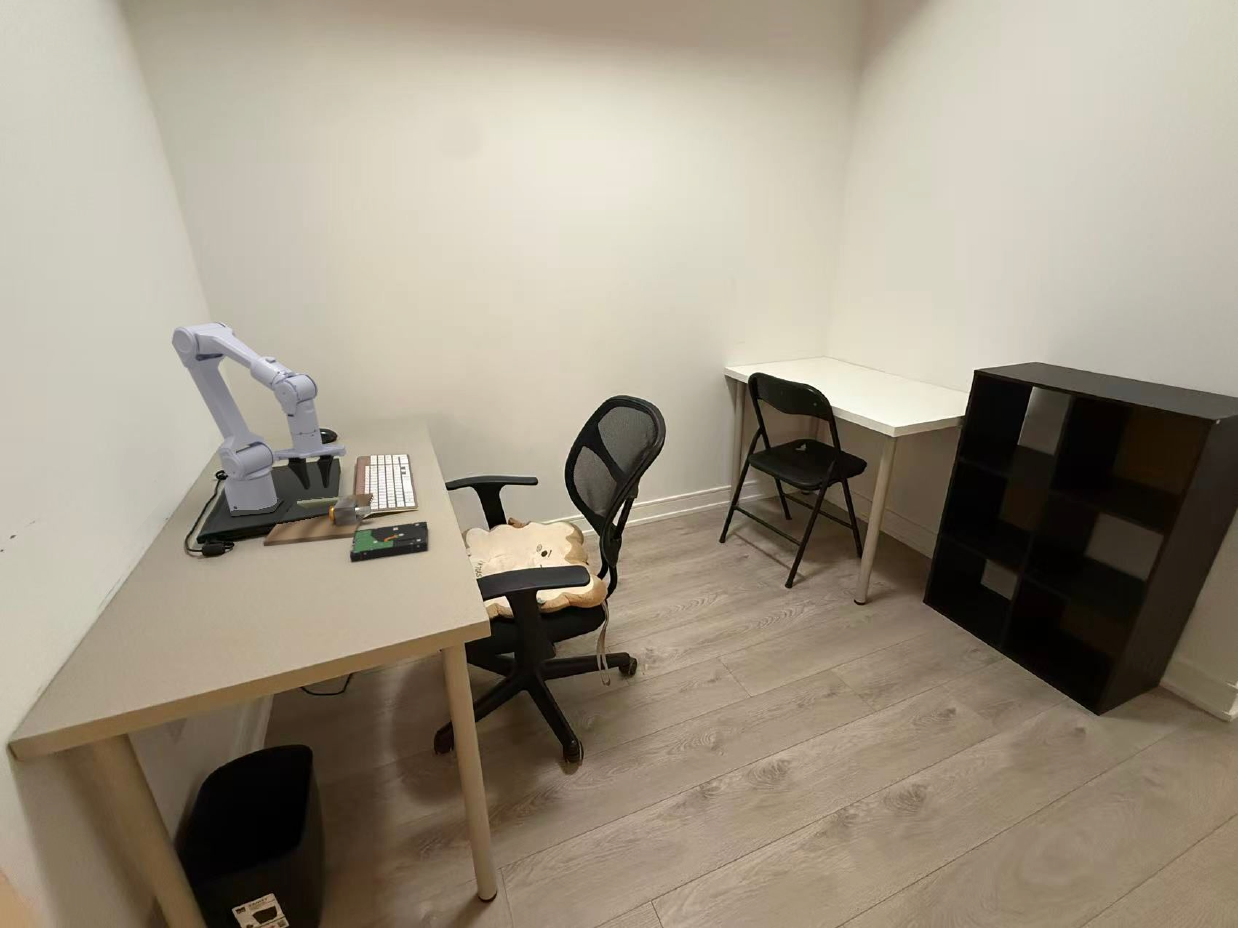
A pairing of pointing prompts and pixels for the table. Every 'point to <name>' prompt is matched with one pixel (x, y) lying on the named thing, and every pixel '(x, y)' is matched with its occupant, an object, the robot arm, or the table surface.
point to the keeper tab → (318, 503)
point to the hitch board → (322, 524)
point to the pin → (357, 511)
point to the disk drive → (389, 541)
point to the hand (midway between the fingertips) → (317, 487)
